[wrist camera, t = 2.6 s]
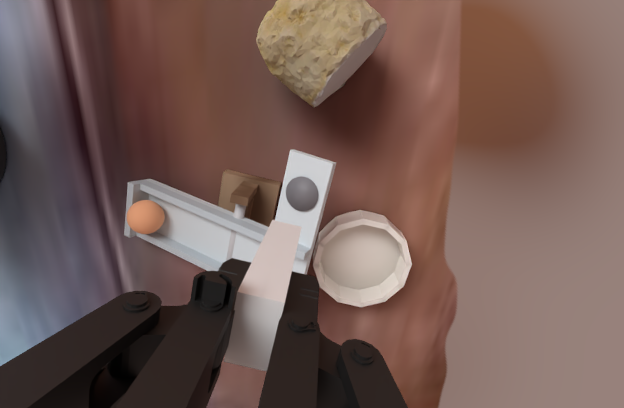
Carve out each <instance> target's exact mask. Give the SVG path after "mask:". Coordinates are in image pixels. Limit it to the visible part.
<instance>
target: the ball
mask: <svg viewBox="0 0 624 408" xmlns="http://www.w3.org/2000/svg"><path fill="white" fill-rule="evenodd" d="M164 218H165V215H164V211H163V209H162V207H161V206H160V205H159V204H157V203H156V202H154V201H151V200H141V201H138V202H136V203H134V204H133V205H132V206H131V207H130V208H129V210H128V212H127V216H126V219H127V223H128V225H129V226H130V228H131V229H132V230H134V231H135V232H137V233H140V234H150V233H153V232H155V231H157V230H158V229H159V228H160V227H161V226H162V224H163V222H164Z"/></svg>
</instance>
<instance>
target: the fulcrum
mask: <svg viewBox="0 0 624 408" xmlns="http://www.w3.org/2000/svg"><path fill="white" fill-rule="evenodd" d="M280 186H281V182H278V181H274V180H269V179H265V178H261V177H257V176H253V175H249V174H244V173H240V172H236V171H232V170H228V169H227V170H226V171H224V172H223V177H222V183H221V189H220V195H219V201H218V206H219V207H221V208H223V209H226V210H228V211H231V212H233V213H234V211H235V206H236V204H239V205H244V206H246V210H245V215H244V217H245V218H248V219H250V220H253V221H255V222H257V223H260V224H262V225H265V226H267V227H269V226H270V224H271V222H272V220H273V218H274V213H275V209H276V204H277V200H278V195H279V191H280Z"/></svg>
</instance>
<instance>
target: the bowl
mask: <svg viewBox="0 0 624 408" xmlns="http://www.w3.org/2000/svg"><path fill="white" fill-rule="evenodd" d="M411 265H412V263H411V258H410V254H409V249H408V245H407V241H406V239H405V238H404V236H403V234H402V233H401V231H399V230H398V229H397V228H396V227H395V226H394V225H393V224H392V223H391V222H390V221H389V220H388V219H387V218H386V217H385V216H384V215H379V214H377V213H373V212H369V211H363V210H358V211H352V212H348V213H345V214H342V215H339V216H336V217H335V218H334V219H333V220H331V221H330V222H329V223H328V224H327V225H326V226H325V227H324V228H323V229H322V230H321V231H320V232H319V235H318V239H317V242H316V246H315V250H314V253H313V267H314V270H315V273H316V276H317V279H318V282H319V287H320V288H322V289H323V290H324V291H325V292H326V293H328V294H329V295H330V296H331V297H332V298H334V299H335V300H336V301H337V302H340V303H344V304H349V305H353V306H358V307H364V306H369V305H373V304H377V303H381V302H386V301H387V300H388V299H389V298H390V297H391V296H393V295H394V294H395V293H396V292H397V291H399V290H400V289H401V288H402V287H404V284H405V282H406V279H407V276H408V274H409V271H410V268H411Z"/></svg>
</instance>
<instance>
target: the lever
mask: <svg viewBox="0 0 624 408" xmlns="http://www.w3.org/2000/svg"><path fill="white" fill-rule="evenodd" d="M335 166H336V162H332V161H329V160H326V159H323V158H320V157H317V156H313V155H310V154H307V153H304V152H301V151H298V150H290V154H289V158H288V163H287V167H286V172H285V176H284V181H283V185H282V190H281V195H280V199H279V204H278V208H277V213H276V217H275V221H279V222H283V223H288V224H292V225H296V226H300V227H302V228H301V232H300V237H299V241H298V246H297V250H296V255H295V259H294V264H293V268H292V271H293V272H297V273H301V274H306V275H307V271H308V268H309V264H310V260H311V256H312V253H313V249H314V245H315V241H316V238H317V234H318V230H319V226H320V223H321V219H322V215H323V211H324V208H325V204H326V200H327V196H328V193H329V189H330V185H331V181H332V178H333V174H334V170H335ZM141 200H151V201H154V202H156V203H157V204H159V205H160V206H161V207H162V209H163V211H164V215H165V218H164V222H163V224H162V226H161V227H160V228H159V229H158V230H157V231H155V232H153V233H150V234H140V233H137V232H135V231H134V230H132V229H131V228H130V226H129V225H128V223H127V219H126V216H127V212H128V210H129V208H130V207H131V206H132V205H133V204H134V203H136V202H138V201H141ZM245 210H246V206H244V205H239V204H236V206H235V211H234V213H233V212H231V211H228V210H226V209H223V208H221V207H219V206H216V205H214V204H211V203H209V202H206V201H204V200H201V199H199V198H197V197H194V196H192V195H189V194H187V193H184V192H182V191H180V190H177V189H175V188H172V187H170V186H167V185H165V184H163V183H160V182H158V181H155V180H153V179H145V180H138V181H132V182H128V188H127V202H126V216H125V230H124V235H125V236H127V237H129V238H130V237H133V236H138V237H140V238H142V239H144V240H146V241H148V242H150V243H152V244H154V245H156V246H158V247H160V248H162V249H164V250H166V251H168V252H170V253H172V254H174V255H176V256H178V257H180V258H183V259H185V260H187V261H189V262H191V263H193V264H195V265H197V266H199V267H201V268H203V269H205V270H207V271H218V270H219V268H220V267H221V265H222V264H223V262H225V261H227V260H229V259H231V258H234V259H238V260H243V261H247V262H251V263H252V261H253V259H254V257H255V254H256V252H257V250H258V248H259V246H260V244H261V242H262V240H263V238H264V236H265V234H266V232H267V230H268V228H269V227H267V226H265V225H262V224H260V223H257V222H255V221H253V220H250V219H248V218H245V217H244V215H245Z"/></svg>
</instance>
